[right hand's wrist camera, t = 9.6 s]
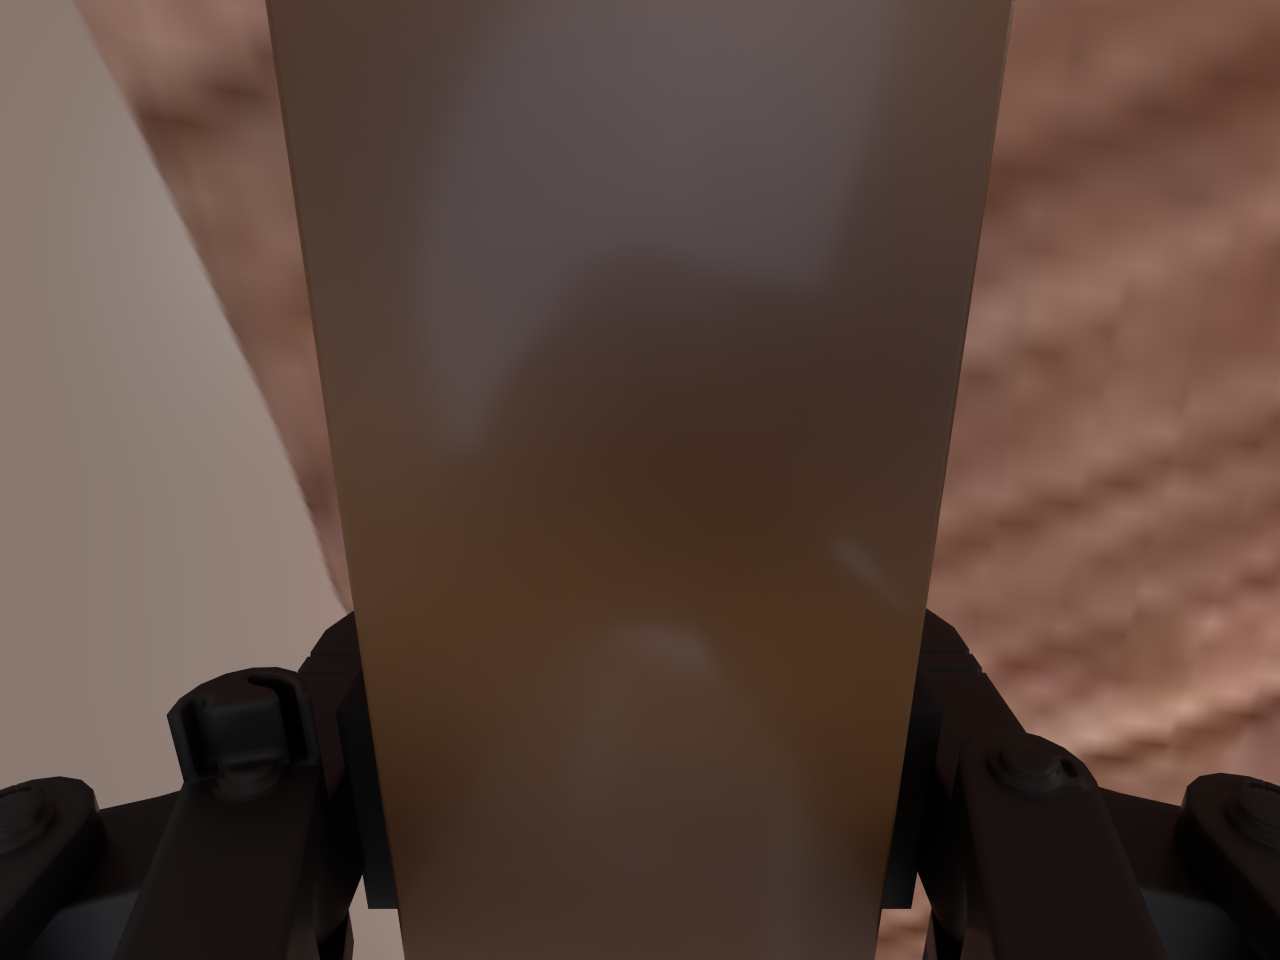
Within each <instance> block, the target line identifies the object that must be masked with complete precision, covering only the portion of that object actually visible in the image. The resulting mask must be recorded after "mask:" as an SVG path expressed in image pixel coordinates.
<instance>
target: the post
mask: <svg viewBox="0 0 1280 960" xmlns="http://www.w3.org/2000/svg"><path fill="white" fill-rule="evenodd" d="M265 1H266V8H267V15H268V21H269V28H270V35H271V42H272V49H273V56H274V63H275V70H276V76H277V83H278V90H279V97H280V104H281V111H282V118H283V125H284V131H285V138H286V145H287V152H288V159H289V166H290V173H291V180H292V187H293V193H294V200H295V207H296V214H297V221H298V228H299V235H300V242H301V248H302V255H303V262H304V269H305V276H306V283H307V290H308V297H309V304H310V310H311V317H312V324H313V331H314V338H315V345H316V352H317V359H318V365H319V372H320V379H321V386H322V393H323V400H324V407H325V414H326V420H327V427H328V434H329V441H330V448H331V455H332V462H333V469H334V476H335V482H336V489H337V496H338V503H339V510H340V517H341V524H342V531H343V537H344V544H345V551H346V558H347V565H348V572H349V579H350V586H351V593H352V599H353V606H354V613H355V620H356V627H357V634H358V641H359V648H360V654H361V661H362V668H363V675H364V682H365V689H366V696H367V703H368V709H369V716H370V723H371V730H372V737H373V744H374V751H375V758H376V765H377V771H378V778H379V785H380V792H381V799H382V806H383V813H384V820H385V826H386V833H387V840H388V847H389V854H390V861H391V868H392V875H393V882H394V888H395V895H396V902H397V909H398V916H399V923H400V929H401V937H402V943H403V950H404V957H405V960H874V959H875V953H876V946H877V939H878V932H879V925H880V918H881V912H882V905H883V898H884V891H885V884H886V877H887V870H888V864H889V857H890V850H891V843H892V836H893V829H894V823H895V816H896V809H897V802H898V795H899V788H900V781H901V775H902V768H903V761H904V754H905V747H906V740H907V734H908V727H909V720H910V713H911V706H912V699H913V692H914V686H915V679H916V672H917V665H918V658H919V651H920V645H921V638H922V631H923V624H924V617H925V610H926V603H927V597H928V590H929V583H930V576H931V569H932V562H933V556H934V549H935V542H936V535H937V528H938V521H939V514H940V508H941V501H942V494H943V487H944V480H945V473H946V467H947V460H948V453H949V446H950V439H951V432H952V426H953V419H954V412H955V405H956V398H957V391H958V384H959V378H960V371H961V364H962V357H963V350H964V343H965V337H966V330H967V323H968V316H969V309H970V302H971V295H972V289H973V282H974V275H975V268H976V261H977V254H978V248H979V241H980V234H981V227H982V220H983V213H984V206H985V200H986V193H987V186H988V179H989V172H990V165H991V159H992V152H993V145H994V138H995V131H996V124H997V117H998V111H999V104H1000V97H1001V90H1002V83H1003V76H1004V70H1005V63H1006V56H1007V49H1008V42H1009V35H1010V28H1011V22H1012V15H1013V8H1014V1H1015V0H265Z"/></svg>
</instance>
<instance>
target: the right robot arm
mask: <svg viewBox="0 0 1280 960" xmlns="http://www.w3.org/2000/svg"><path fill="white" fill-rule="evenodd" d="M167 718H168V722H169V726H170V730H171V734H172V738H173V741H174V745H175V749H176V753H177V757H178V761H179V765H180V768H181V772H182V776H183V780H184V783H183V786H182V788H181V790H180V791H177V792H173V793H170V794H166V795H163V796H159V797H155V798H151V799H146V800H142V801H137V802H132V803H128V804H124V805H119V806H114V807H110V808H105V809H101V810H99V807H98V804H97V800H96V797H95V794H94V791H93V789H92V788H90V787H89V786H88V785H87V784H86V783H84V782H83V781H82V780H79V779H73V778H67V777H61V776H59V777H51V778H42V779H34V780H30V781H27V782H24V783H20V784H17V785H13V786H10V787H7V788H5V789H2V790H0V960H352V955H353V945H354V939H353V933H352V925H351V920H350V914H349V907H350V904H351V902H352V899H353V897H354V894H355V892H356V889H357V886H358V884H359V881H360V879H361V876H362V874H363V880H364V886H365V892H366V898H367V904H368V909H397V902H396V895H395V888H394V882H393V875H392V868H391V861H390V854H389V847H388V840H387V833H386V826H385V820H384V813H383V806H382V799H381V792H380V785H379V778H378V771H377V765H376V758H375V751H374V744H373V737H372V730H371V723H370V716H369V709H368V703H367V696H366V689H365V682H364V675H363V668H362V661H361V654H360V648H359V641H358V634H357V627H356V620H355V613H354V611H352V612H351V613H350V614H348V615H347V616H345V617H344V618H342V619H341V620H340V621H338V622H337V623H335V624H334V625H332V626H331V627H330V628H328V629H327V630H326V631H325V632H324V633H323V635H322V637H321V638H320V639H319V641H318V642H317V644H316V645H315V647H314V648H313V650H312V651H311V655H310V657H307V658H306V660H305V662H304V663H303V664H302V666H301V667H300V669H299V670H298V673H297V672H295V671H291V670H287V669H283V668H279V667H261V668H249V669H245V670H240V671H236V672H231V673H227V674H224V675H222V676H219V677H217V678H215V679H212V680H210V681H208V682H205V683H203V684H200V685H199V686H198V687H196V688H195V689H193V690H192V691H190V692H189V693H187V694H186V695H184V696H183V697H181V698H180V699H179V700H178V701H177V703H176V704H175V705H174V706H173V708H172V709H171V710H170V711H169V713H168V714H167ZM917 871H918V874H919V876H920V879H921V881H922V884H923V886H924V889H925V891H926V894H927V896H928V899H929V902H930V904H931V907H932V908H931V914H930V920H929V925H928V931H927V936H926V942H925V948H924V953H923V959H922V960H1280V786H1278V785H1275V784H1272V783H1269V782H1265V781H1263V780H1259V779H1255V778H1252V777H1249V776H1242V775H1234V774H1226V773H1216V774H1210V775H1204V776H1199V777H1198V778H1197V779H1195V780H1194V781H1193V782H1192V783H1191V784H1189V785H1188V786H1187V789H1186V792H1185V795H1184V798H1183V801H1182V805H1181V806H1177V805H1172V804H1167V803H1163V802H1158V801H1154V800H1149V799H1145V798H1140V797H1136V796H1131V795H1127V794H1122V793H1118V792H1115V791H1111V790H1108V789H1104V788H1101V787H1098V784H1097V782H1096V780H1095V778H1094V777H1093V776H1092V774H1091V773H1090V771H1089V770H1088V768H1087V767H1086V765H1085V764H1084V763H1083V762H1082V761H1080V760H1079V759H1078V758H1077V757H1075V756H1074V755H1073V754H1071V753H1070V752H1069V751H1068V750H1066V749H1065V748H1063V747H1061V746H1059V745H1057V744H1055V743H1053V742H1051V741H1049V740H1047V739H1045V738H1042V737H1040V736H1037V735H1033V734H1029V733H1026V732H1025V730H1024V729H1023V727H1022V726H1021V724H1020V723H1019V721H1018V720H1017V718H1016V717H1015V716H1014V714H1013V713H1012V711H1011V710H1010V708H1009V707H1008V705H1007V704H1006V702H1005V701H1004V700H1003V698H1002V697H1001V695H1000V694H999V692H998V691H997V689H996V688H995V686H994V685H993V683H992V682H991V681H990V679H989V678H988V676H987V675H986V673H982V667H981V666H980V665H979V663H978V662H977V660H976V659H975V657H974V656H973V654H970V653H969V649H968V647H967V646H966V644H965V643H964V641H963V640H962V638H961V637H960V635H959V634H958V633H957V631H956V630H955V628H954V627H953V626H951V625H950V624H948V623H947V622H945V621H944V620H942V619H941V618H940V617H938V616H937V615H935V614H934V613H932V612H931V611H930V610H928V609H926V610H925V617H924V624H923V631H922V638H921V645H920V651H919V658H918V665H917V672H916V679H915V686H914V692H913V699H912V706H911V713H910V720H909V727H908V734H907V740H906V747H905V754H904V761H903V768H902V775H901V781H900V788H899V795H898V802H897V809H896V816H895V823H894V829H893V836H892V843H891V850H890V857H889V864H888V870H887V877H886V884H885V891H884V898H883V905H882V909H911V906H912V900H913V894H914V888H915V882H916V876H917Z"/></svg>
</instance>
